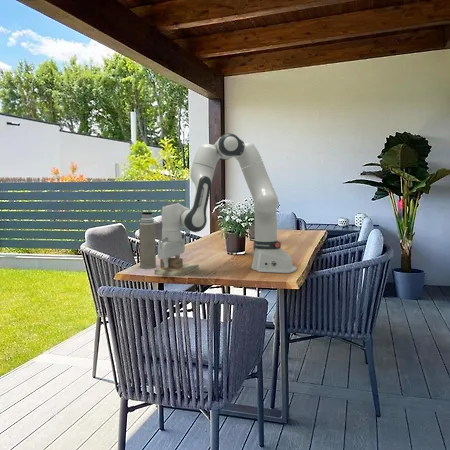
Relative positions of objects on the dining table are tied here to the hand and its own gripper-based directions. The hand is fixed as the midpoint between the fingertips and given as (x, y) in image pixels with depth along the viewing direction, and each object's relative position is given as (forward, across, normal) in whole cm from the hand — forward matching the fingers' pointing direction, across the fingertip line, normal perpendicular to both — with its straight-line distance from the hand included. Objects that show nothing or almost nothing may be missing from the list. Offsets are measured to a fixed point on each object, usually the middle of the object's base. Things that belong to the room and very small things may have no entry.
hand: (171, 265), depth 214 cm
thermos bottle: (+4, +10, +19) cm, 22 cm away
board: (+4, +6, 0) cm, 7 cm away
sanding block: (+2, 0, 0) cm, 2 cm away
